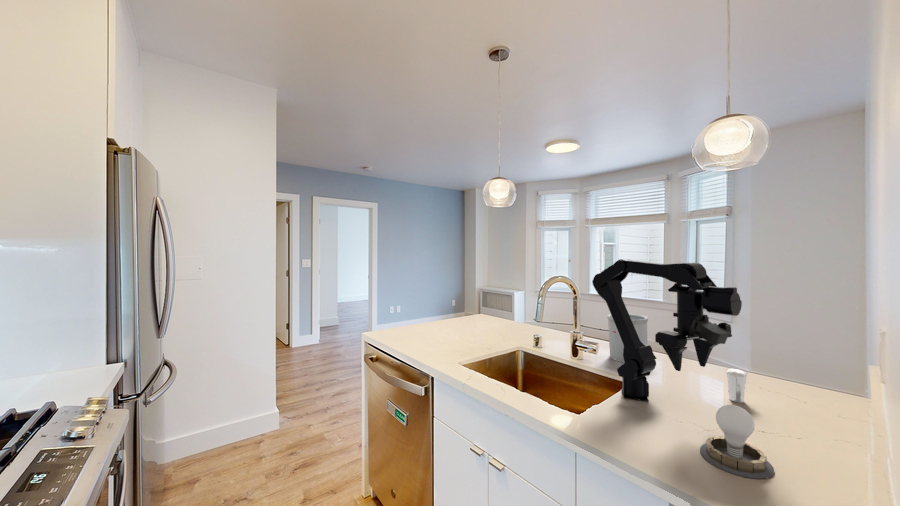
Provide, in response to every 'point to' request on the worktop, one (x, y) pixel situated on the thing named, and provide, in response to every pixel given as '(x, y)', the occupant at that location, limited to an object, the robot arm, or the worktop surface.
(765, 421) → the worktop surface
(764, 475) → the socket mat
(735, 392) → the milkshake
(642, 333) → the utensil holder
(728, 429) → the lightbulb
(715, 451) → the socket collar
